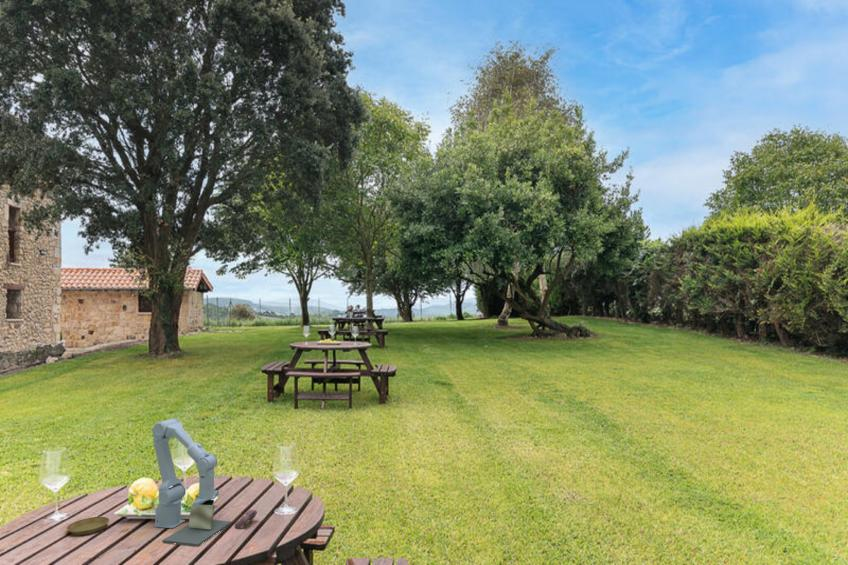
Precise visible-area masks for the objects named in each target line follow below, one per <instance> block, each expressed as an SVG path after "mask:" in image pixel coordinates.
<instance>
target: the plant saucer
mask: <svg viewBox="0 0 848 565" xmlns="http://www.w3.org/2000/svg"><path fill="white" fill-rule="evenodd" d="M109 522H110V518H109V517H105V516H94V517H93V516H92V517H87V518H83V519H79V520H76V521H74V522H72V523H70V524H69V525H67V527H66V530H67V531H68V532H69V533H71V535H74V536H86V535H91V534H94V533H97V532H99V531H101V530H103V529H104V528H105V527H106V526H107V525H108V524H109Z"/></svg>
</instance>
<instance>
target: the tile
mask: <svg viewBox="0 0 848 565" xmlns="http://www.w3.org/2000/svg"><path fill="white" fill-rule="evenodd" d="M214 509H215V505H214V504H213V505H206V504H200V505H199V506H198V507H193V503H191V504H190V513H189V521H188V524H189V527H192V528H202V529H212V522H213V520H214V511H215V510H214Z"/></svg>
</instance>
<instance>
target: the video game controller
mask: <svg viewBox="0 0 848 565" xmlns="http://www.w3.org/2000/svg"><path fill="white" fill-rule="evenodd" d="M257 514H258V511H257V510H254V509H253V508H252V509H251V510H247V511H246V512H245V513H244V515H243V516H242V517H241V518H240V519H239V520H238V521H236V522H235V524H234V528H235V529H240V528H242V527H246V526H248V524H251V523H252V521H253V520H254V518H255V517H256V516H257Z"/></svg>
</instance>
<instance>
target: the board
mask: <svg viewBox="0 0 848 565" xmlns="http://www.w3.org/2000/svg"><path fill="white" fill-rule="evenodd" d="M231 525H232V520H231V521H230V520H221V519H220V520H219V519H218V520H217V519H213V522H212V529H202V528H192V527H189V523H188V524H187V525H185V526H183V527H182V528H181V529H179V530H177V531H175V532H173V533H172V534H170V535H168V536H167V537H165V538H164V539H162V542H164V543H163V544H169V543H176V544H175V545H177V546H178V545H180V546H186V545H188V546H189V547H195V546H199V545H200V546H202V545H203V544H204V543H203V542H205V541H206V540H207V541H209V540H210V539H212V538H213V537H214V536H213V535H215V534H216V533H218V532H219V531H221V530H222V531H224V530H225V529H226V528H228V527H229V526H231ZM224 528H225V529H224ZM222 531H221V532H222ZM219 533H220V532H219ZM219 533H218V534H219ZM216 535H217V534H216ZM216 535H215V536H216ZM212 536H213V537H212ZM211 537H212V538H211ZM209 538H210V539H209ZM208 539H209V540H208ZM207 541H206V542H207ZM162 542H161V543H162ZM206 542H205V543H206ZM202 543H203V544H202ZM201 544H202V545H201ZM188 546H187V547H188ZM200 546H199V547H200Z"/></svg>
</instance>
